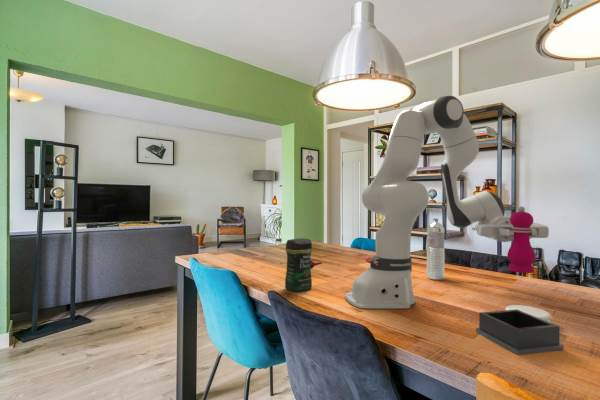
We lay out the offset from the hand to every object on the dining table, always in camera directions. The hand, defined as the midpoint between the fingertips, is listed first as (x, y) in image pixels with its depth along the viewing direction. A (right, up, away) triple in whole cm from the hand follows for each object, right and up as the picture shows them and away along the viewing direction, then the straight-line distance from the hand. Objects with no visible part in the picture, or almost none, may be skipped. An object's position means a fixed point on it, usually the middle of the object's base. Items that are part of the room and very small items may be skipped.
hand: (522, 233), depth 98 cm
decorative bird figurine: (-65, -23, +43) cm, 81 cm away
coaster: (-7, -23, -12) cm, 27 cm away
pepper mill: (0, -12, +1) cm, 12 cm away
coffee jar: (-69, -23, +20) cm, 75 cm away
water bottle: (-12, -23, +35) cm, 44 cm away
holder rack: (-17, -23, -23) cm, 37 cm away
